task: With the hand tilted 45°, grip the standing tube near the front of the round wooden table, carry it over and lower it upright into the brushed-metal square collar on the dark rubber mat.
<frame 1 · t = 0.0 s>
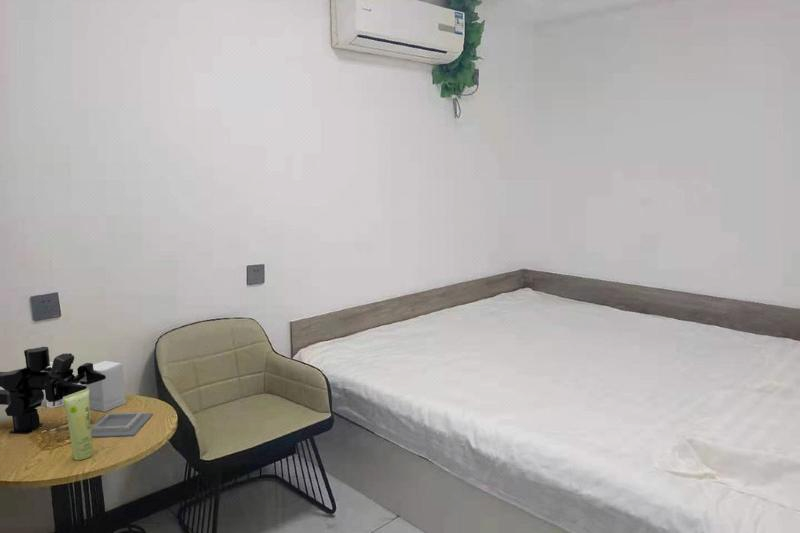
hand: (96, 382, 170), 17 cm above the table, tool horizontal, fingers open, 9 cm apart
tube: (82, 457, 157), on the table
collar: (118, 422, 177), on the mat, point 1 cm above the table
beer glass: (56, 405, 195), on the table
mat: (118, 425, 177), on the table
supplement box: (107, 406, 193), on the table
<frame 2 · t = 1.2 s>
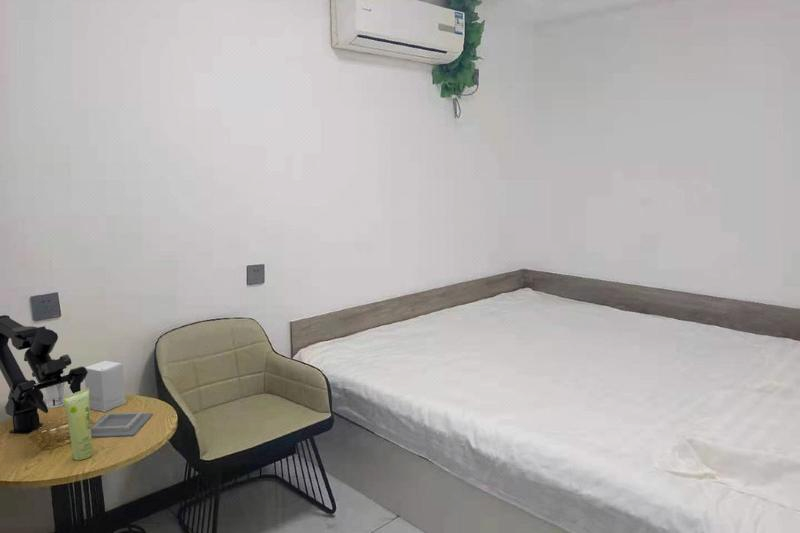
hand: (64, 406, 159), 13 cm above the table, tool tilted 45°, fingers open, 9 cm apart
nothing on the table moved.
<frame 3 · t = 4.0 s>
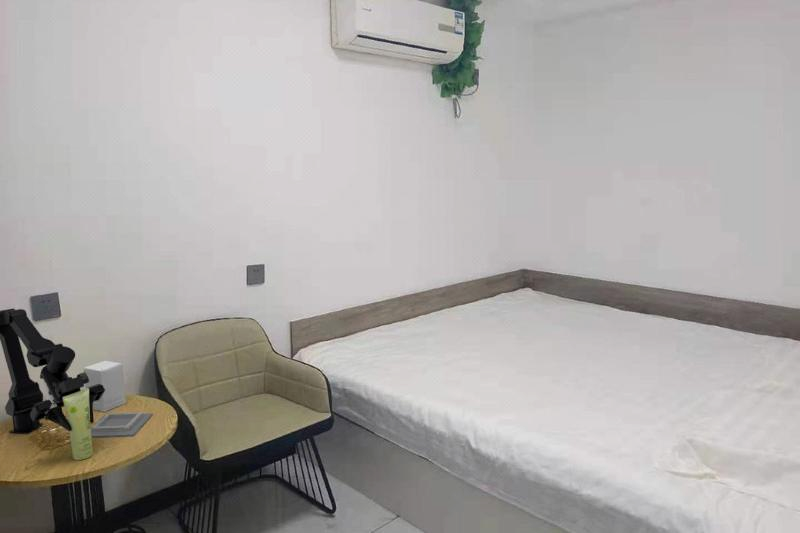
hand: (81, 426, 155), 10 cm above the table, tool tilted 45°, fingers closed on tube, 6 cm apart
tube: (82, 457, 157), on the table, touching gripper
everything else where it was.
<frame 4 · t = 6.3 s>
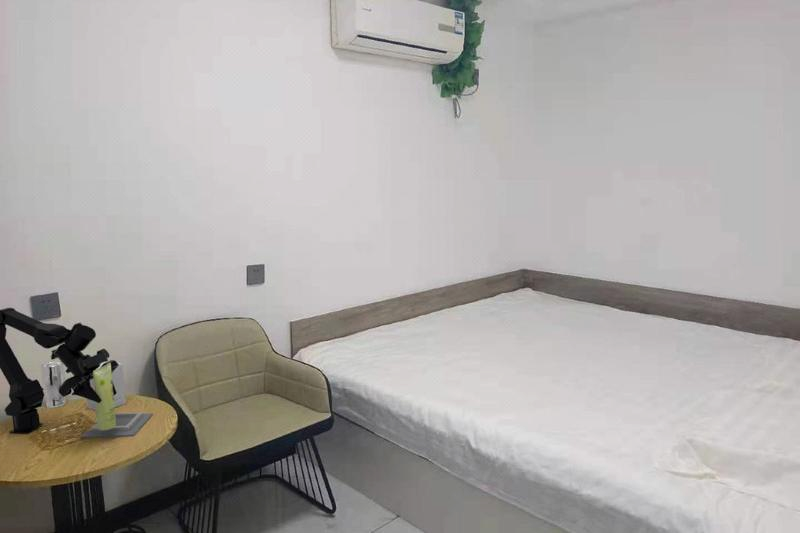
hand: (108, 398, 166), 13 cm above the table, tool tilted 45°, fingers closed on tube, 6 cm apart
tube: (106, 428, 168), point 4 cm above the table, touching gripper
everything else where it was.
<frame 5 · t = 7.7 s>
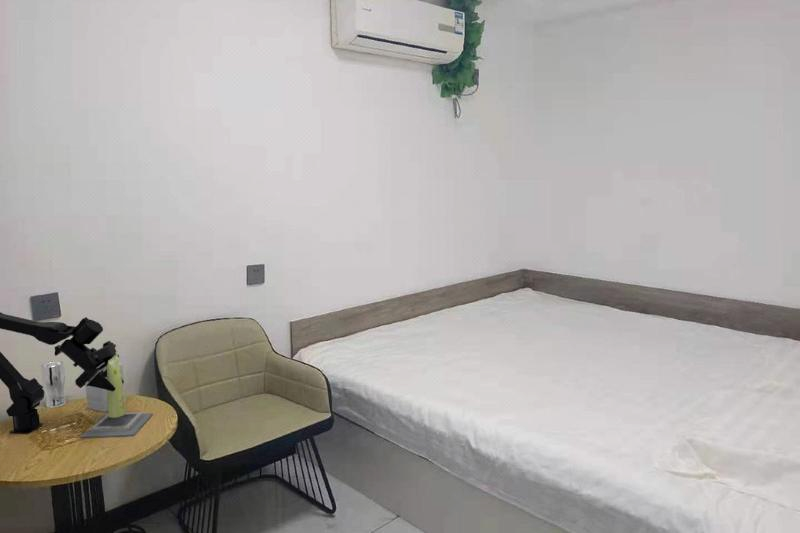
hand: (118, 386, 175), 13 cm above the table, tool tilted 45°, fingers closed on tube, 6 cm apart
tube: (116, 415, 177), point 3 cm above the table, touching gripper
everything else where it was.
when the fingers open (10 cm above the table, at t = 8.9 s): tube stays where it is, resting on mat.
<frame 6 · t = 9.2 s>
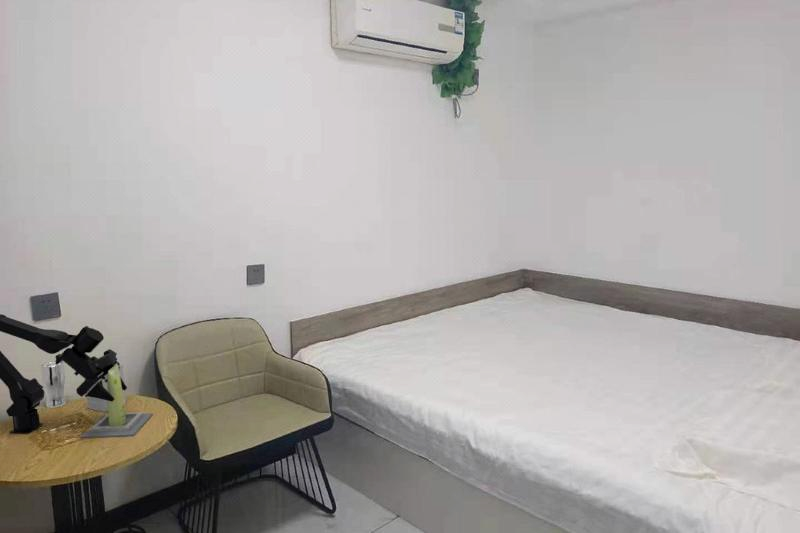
hand: (120, 394, 176), 11 cm above the table, tool tilted 45°, fingers open, 9 cm apart
tube: (117, 425, 177), resting on mat
everything else where it was.
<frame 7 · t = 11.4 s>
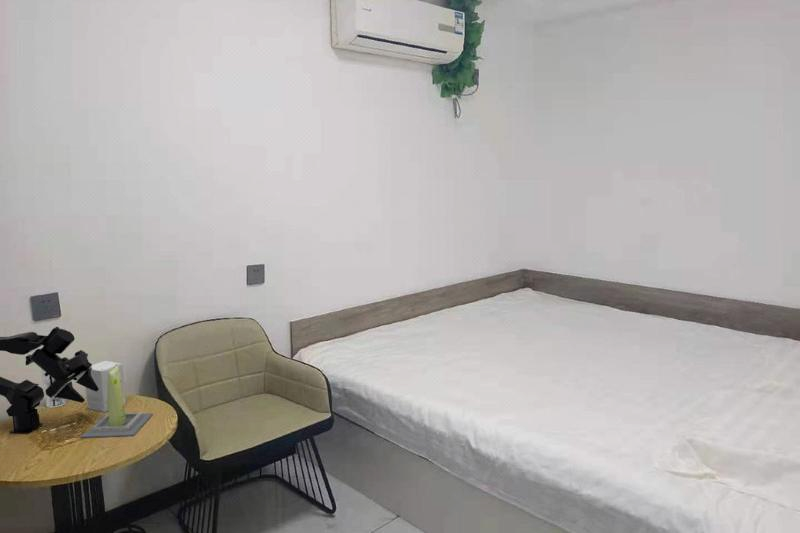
hand: (90, 395, 175), 10 cm above the table, tool tilted 45°, fingers open, 9 cm apart
nothing on the table moved.
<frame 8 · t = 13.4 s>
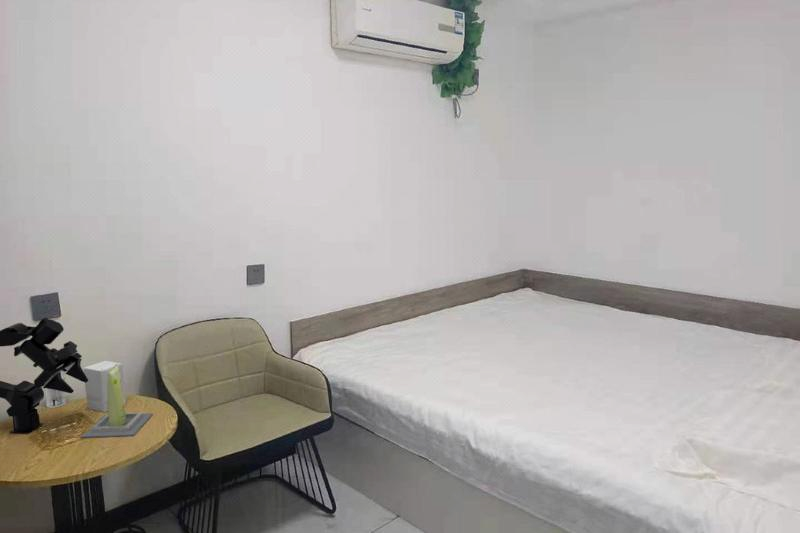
hand: (80, 386, 175), 14 cm above the table, tool tilted 45°, fingers open, 9 cm apart
nothing on the table moved.
at the end: tube 0.3 cm off-centre on the collar, point 0.3 cm above the collar's base; tube tilted 0°; the gripper is holding nothing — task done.
